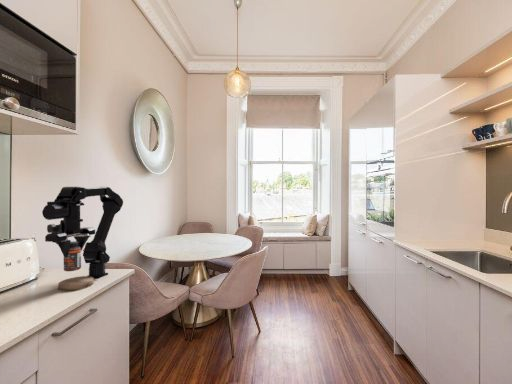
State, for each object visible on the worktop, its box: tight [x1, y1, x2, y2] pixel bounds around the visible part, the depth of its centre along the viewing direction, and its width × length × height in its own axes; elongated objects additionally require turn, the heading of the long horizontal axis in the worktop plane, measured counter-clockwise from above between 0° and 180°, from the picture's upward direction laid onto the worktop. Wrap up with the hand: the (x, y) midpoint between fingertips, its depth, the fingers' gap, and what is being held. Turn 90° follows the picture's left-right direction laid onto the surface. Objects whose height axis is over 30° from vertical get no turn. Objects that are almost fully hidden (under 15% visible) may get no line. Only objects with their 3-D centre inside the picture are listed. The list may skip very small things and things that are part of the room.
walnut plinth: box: [57, 275, 94, 292], centre depth 109 cm, size 12×12×2 cm
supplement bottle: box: [63, 240, 82, 272], centre depth 108 cm, size 6×6×11 cm
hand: (72, 255), depth 109 cm, fingers closed on supplement bottle, 6 cm apart
